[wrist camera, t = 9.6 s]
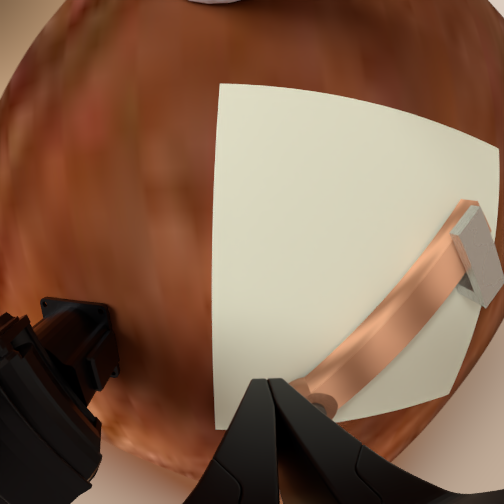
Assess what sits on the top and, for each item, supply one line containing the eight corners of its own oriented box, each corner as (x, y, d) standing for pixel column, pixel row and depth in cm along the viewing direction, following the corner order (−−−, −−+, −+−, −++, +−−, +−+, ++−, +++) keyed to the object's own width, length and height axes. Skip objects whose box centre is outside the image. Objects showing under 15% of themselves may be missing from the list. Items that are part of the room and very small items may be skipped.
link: (301, 422, 21) (307, 443, 18) (264, 402, 20) (268, 424, 17) (478, 231, 18) (498, 237, 16) (457, 193, 17) (479, 195, 15)
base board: (215, 421, 22) (215, 429, 21) (220, 88, 16) (219, 83, 15) (444, 389, 24) (448, 394, 23) (491, 149, 18) (498, 148, 17)
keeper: (451, 289, 21) (486, 308, 16) (417, 225, 19) (458, 235, 14) (469, 266, 20) (505, 281, 16) (439, 200, 19) (480, 206, 14)
